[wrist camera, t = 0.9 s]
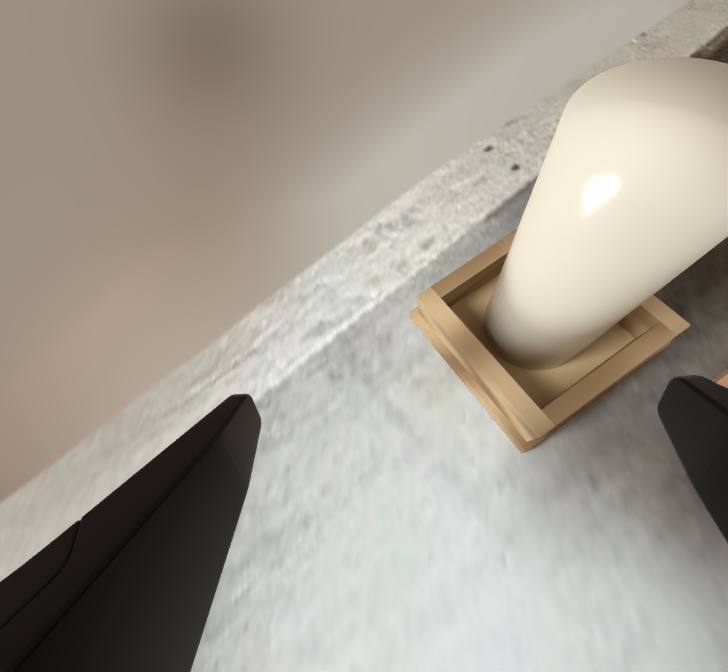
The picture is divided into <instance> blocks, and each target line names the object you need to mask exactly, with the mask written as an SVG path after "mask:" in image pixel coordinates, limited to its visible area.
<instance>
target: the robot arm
mask: <svg viewBox="0 0 728 672" xmlns="http://www.w3.org/2000/svg"><path fill="white" fill-rule="evenodd" d="M658 414H659V417H660V419H661V421H662V424H663V426H664V428H665V430H666V432H667V434H668V436H669V438H670V440H671V442H672V444H673V446H674V449H675V451H676V453H677V455H678V457H679V459H680V461H681V463H682V465H683V467H684V469H685V471H686V473H687V475H688V477H689V479H690V481H691V483H692V485H693V487H694V489H695V490H696V492H697V494H698V496H699V497H700V499H701V501H702V502H703V504H704V506H705V507H706V509H707V510H708V512H709V514H710V515H711V517H712V519H713V520H714V522H715V523H716V525H717V527H718V528H719V530H720V532H721V533H722V535H723V536H724V538H725V540H726V541H727V543H728V388H726V387H724V386H722V385H719V384H717V383H715V382H713V381H711V380H709V379H707V378H704V377H702V376H696V375H692V376H676V377H674V378H672V379H671V380H670V382H669V384H668V385H667V387H666V389H665V391H664V393H663V395H662V397H661V399H660V401H659V403H658ZM260 429H261V418H260V415H259V413H258V410H257V408H256V406H255V404H254V401H253V399H252V397H251V396H250V395H249V394H234V395H231V396H230V397H228V398H227V399H226V400H224V401H223V402H222V403H221V404H220V405H218V406H217V407H216V408H215V409H214V410H212V411H211V412H210V413H209V414H207V415H206V416H205V417H204V418H203V419H201V420H200V421H199V422H198V423H196V424H195V425H194V426H193V427H192V428H190V429H189V430H188V431H187V432H185V433H184V434H183V435H182V436H181V437H179V438H178V439H177V440H176V441H174V442H173V443H172V444H171V445H170V446H168V447H167V448H166V449H165V450H163V451H162V452H161V453H160V454H159V455H157V456H156V457H155V458H154V459H153V460H151V461H150V462H149V463H148V464H146V465H145V466H144V467H143V468H142V469H140V470H139V471H138V472H137V473H135V474H134V475H133V476H132V477H131V478H129V479H128V480H127V481H126V482H124V483H123V484H122V485H121V486H120V487H118V488H117V489H116V490H115V491H113V492H112V493H111V494H110V495H109V496H107V497H106V498H105V499H104V500H102V501H101V502H100V503H99V504H98V505H96V506H95V507H94V508H93V509H91V510H90V511H89V512H88V513H87V514H85V515H84V516H83V517H82V519H81V521H77V522H75V523H74V524H73V525H72V526H71V527H69V528H68V529H67V530H66V531H64V532H63V533H62V534H61V535H60V536H58V537H57V538H56V539H55V540H53V541H52V542H51V543H50V544H48V545H47V546H46V547H45V548H43V549H42V550H41V551H40V552H38V553H37V554H36V555H35V556H33V557H32V558H31V559H30V560H28V561H27V562H26V563H25V564H23V565H22V566H21V567H19V568H18V569H17V570H15V571H14V572H13V573H11V574H10V575H9V576H8V577H6V578H5V579H4V580H2V581H1V582H0V672H191V668H192V665H193V662H194V659H195V656H196V653H197V649H198V646H199V643H200V640H201V637H202V634H203V630H204V627H205V624H206V621H207V618H208V615H209V611H210V608H211V605H212V602H213V599H214V596H215V592H216V589H217V586H218V583H219V580H220V577H221V573H222V570H223V567H224V564H225V561H226V558H227V554H228V551H229V548H230V545H231V542H232V539H233V535H234V532H235V529H236V526H237V523H238V520H239V516H240V513H241V510H242V507H243V504H244V500H245V497H246V494H247V490H248V487H249V482H250V478H251V473H252V468H253V463H254V458H255V454H256V449H257V444H258V439H259V434H260Z"/></svg>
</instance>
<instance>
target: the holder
mask: <svg viewBox="0 0 728 672" xmlns="http://www.w3.org/2000/svg"><path fill="white" fill-rule="evenodd" d="M516 232H517V229H516V230H515V231H513V232H512V233H510V234H509V235H507V236H506V237H504V238H503V239H501V240H500V241H498V242H497V243H495V244H494V245H492V246H491V247H489V248H488V249H486V250H485V251H483V252H482V253H480V254H479V255H477V256H476V257H474V258H473V259H471V260H470V261H469V262H467V263H466V264H464V265H463V266H461V267H460V268H458V269H457V270H455V271H454V272H452V273H451V274H449V275H448V276H446V277H445V278H443V279H442V280H440V281H439V282H437V283H436V284H434V285H433V286H431V287H430V288H428V289H427V290H425V291H424V292H422V293H421V294H419V295H418V307H416V308H415V309H413V310H412V311H410V318H411V319H412V320H413V322H414V323H415V324H416V325H417V326H418V328H419V329H420V330H421V331H422V333H423V334H424V335H425V336H426V337H427V339H428V340H429V341H430V342H431V344H432V345H433V346H434V347H435V348H436V350H437V351H438V352H439V353H440V354H441V356H442V357H443V358H444V359H445V361H446V362H447V363H448V364H449V365H450V367H451V368H452V369H453V370H454V372H455V373H456V374H457V375H458V376H459V378H460V379H461V380H462V381H463V382H464V384H465V385H466V386H467V387H468V389H469V390H470V391H471V392H472V393H473V395H474V396H475V397H476V398H477V399H478V401H479V402H480V403H481V404H482V406H483V407H484V408H485V409H486V410H487V412H488V413H489V414H490V415H491V417H492V418H493V419H494V420H495V421H496V423H497V424H498V425H499V426H500V427H501V429H502V430H503V431H504V432H505V434H506V435H507V436H508V437H509V438H510V440H511V441H512V442H513V443H514V445H515V446H516V447H517V448H518V449H519V451H520V452H521V453H524V452H527V451H528V450H530V449H531V448H532V447H534V446H535V445H536V444H538V443H539V442H540V441H542V440H543V439H544V438H546V437H547V436H548V435H550V434H551V433H552V432H554V431H555V430H556V429H558V428H559V427H560V426H562V425H563V424H564V423H566V422H567V421H568V420H570V419H571V418H572V417H574V416H575V415H576V414H578V413H579V412H580V411H582V410H583V409H584V408H586V407H587V406H588V405H590V404H591V403H592V402H594V401H595V400H597V399H598V398H599V397H601V396H602V395H603V394H605V393H606V392H607V391H609V390H610V389H611V388H613V387H614V386H615V385H617V384H618V383H619V382H621V381H622V380H623V379H625V378H626V377H627V376H629V375H630V374H631V373H633V372H634V371H635V370H637V369H638V368H639V367H641V366H642V365H643V364H645V363H646V362H647V361H649V360H650V359H651V358H653V357H654V356H655V355H657V354H658V353H659V352H661V351H662V350H664V349H665V348H666V347H668V346H669V345H670V344H672V342H671V341H670V340H672V339H673V338H675V337H676V336H677V335H679V334H680V333H681V332H683V331H684V330H685V329H687V328H688V327H689V326H691V325H690V324H689V323H688V322H687V321H685V320H684V319H683V318H682V317H680V316H679V315H678V314H677V313H675V312H674V311H673V310H672V309H670V308H669V307H668V306H667V305H665V304H664V303H663V302H662V301H660V300H659V299H658V298H657V297H655V296H654V295H652V296H651V297H649V298H648V299H647V300H646V301H644V302H643V303H642V304H641V305H639V306H638V307H637V308H635V309H634V310H633V311H632V312H630V313H629V314H628V315H626V316H625V317H624V318H623V319H621V320H620V321H619V322H617V323H616V324H615V325H614V326H612V327H611V328H610V329H608V330H607V331H606V332H605V333H603V334H602V335H601V336H599V337H598V338H597V339H596V340H594V341H593V342H592V343H590V344H589V345H588V346H587V347H585V348H584V349H583V350H581V351H580V352H579V353H578V354H576V355H575V356H574V357H572V358H571V359H570V360H569V361H567V362H566V363H564V364H563V365H561V366H558V367H556V368H553V369H549V370H543V371H534V370H526V369H522V368H519V367H516V366H514V365H512V364H510V363H508V362H506V361H505V360H503V359H502V358H501V357H499V356H498V355H497V354H496V353H495V352H494V351H493V349H492V348H491V347H490V345H489V343H488V342H487V339H486V337H485V334H484V329H483V319H484V314H485V311H486V308H487V306H488V303H489V301H490V298H491V296H492V293H493V291H494V288H495V285H496V283H497V280H498V278H499V275H500V273H501V270H502V268H503V265H504V262H505V260H506V257H507V255H508V252H509V250H510V247H511V245H512V242H513V239H514V237H515V234H516Z"/></svg>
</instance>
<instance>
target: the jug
mask: <svg viewBox="0 0 728 672" xmlns="http://www.w3.org/2000/svg"><path fill="white" fill-rule="evenodd" d="M727 237H728V64H726V63H721V62H717V61H712V60H705V59H698V58H686V57H665V58H652V59H645V60H639V61H635V62H630V63H626V64H623V65H620V66H617V67H614V68H611V69H609V70H607V71H604V72H602V73H600V74H599V75H597V76H595V77H593V78H592V79H590V80H589V81H588V82H586V83H585V84H583V85H582V86H581V87H580V88H579V89H578V90H577V91H576V92H575V93H574V95H573V96H572V97H571V98H570V100H569V102H568V103H567V105H566V107H565V109H564V112H563V114H562V117H561V119H560V122H559V125H558V127H557V130H556V132H555V135H554V137H553V140H552V142H551V145H550V148H549V150H548V153H547V155H546V158H545V160H544V163H543V165H542V168H541V171H540V173H539V176H538V178H537V181H536V183H535V186H534V188H533V191H532V194H531V196H530V199H529V201H528V204H527V206H526V209H525V211H524V214H523V216H522V219H521V222H520V224H519V227H518V229H517V232H516V234H515V237H514V239H513V242H512V245H511V247H510V250H509V252H508V255H507V257H506V260H505V262H504V265H503V268H502V270H501V273H500V275H499V278H498V280H497V283H496V285H495V288H494V291H493V293H492V296H491V298H490V301H489V303H488V306H487V308H486V311H485V314H484V319H483V329H484V334H485V337H486V339H487V342H488V343H489V345H490V347H491V348H492V349H493V351H494V352H495V353H496V354H497V355H498V356H499V357H501V358H502V359H503V360H505V361H506V362H508V363H510V364H512V365H514V366H516V367H519V368H522V369H526V370H534V371H543V370H549V369H553V368H556V367H558V366H561V365H563V364H564V363H566V362H567V361H569V360H570V359H571V358H572V357H574V356H575V355H576V354H578V353H579V352H580V351H581V350H583V349H584V348H585V347H587V346H588V345H589V344H590V343H592V342H593V341H594V340H596V339H597V338H598V337H599V336H601V335H602V334H603V333H605V332H606V331H607V330H608V329H610V328H611V327H612V326H614V325H615V324H616V323H617V322H619V321H620V320H621V319H623V318H624V317H625V316H626V315H628V314H629V313H630V312H632V311H633V310H634V309H635V308H637V307H638V306H639V305H641V304H642V303H643V302H644V301H646V300H647V299H648V298H649V297H651V296H652V295H653V294H655V293H656V292H657V291H658V290H660V289H661V288H662V287H664V286H665V285H666V284H667V283H669V282H670V281H671V280H673V279H674V278H675V277H676V276H678V275H679V274H680V273H682V272H683V271H684V270H685V269H687V268H688V267H689V266H691V265H692V264H693V263H694V262H696V261H697V260H698V259H700V258H701V257H702V256H703V255H705V254H706V253H707V252H709V251H710V250H711V249H712V248H714V247H715V246H716V245H718V244H719V243H720V242H721V241H723V240H724V239H725V238H727Z"/></svg>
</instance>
